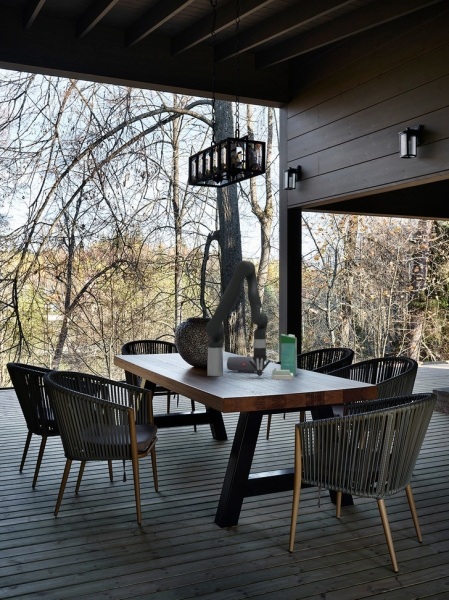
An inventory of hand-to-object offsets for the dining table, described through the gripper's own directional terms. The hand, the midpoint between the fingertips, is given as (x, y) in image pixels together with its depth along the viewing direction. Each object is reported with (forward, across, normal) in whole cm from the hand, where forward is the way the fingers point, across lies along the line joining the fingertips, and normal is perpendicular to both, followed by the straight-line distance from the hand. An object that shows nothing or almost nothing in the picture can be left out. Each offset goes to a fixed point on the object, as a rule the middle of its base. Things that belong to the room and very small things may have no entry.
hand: (259, 375), depth 373 cm
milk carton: (+2, +18, +16) cm, 24 cm away
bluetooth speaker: (+2, -9, +27) cm, 28 cm away
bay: (+1, +14, 0) cm, 14 cm away
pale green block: (+2, +13, 0) cm, 13 cm away
